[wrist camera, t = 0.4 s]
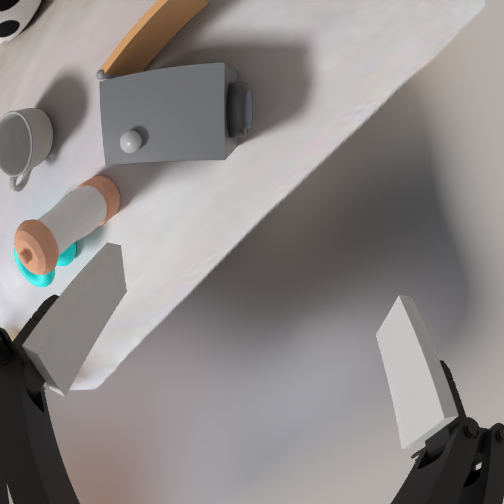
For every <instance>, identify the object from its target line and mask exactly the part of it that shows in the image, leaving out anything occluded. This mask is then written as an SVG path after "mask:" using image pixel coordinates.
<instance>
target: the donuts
mask: <svg viewBox="0 0 504 504" xmlns="http://www.w3.org/2000/svg"><path fill="white" fill-rule="evenodd" d="M75 254H76V243H75V242H74V243H73V244H71V245H70V246H69V247H68V248H67V249H66V250H65V251H64V252H63V253H61V254H60V255H59V257H58V262H57V264H56V265H57V266H66V265H68V264H70V263H71V262H72V261H73V259H74V257H75ZM14 256H15V260H16V263H17V266H18V268H19V270H20V271H21V273H22V274H23V276H24V277H25V278H26V279H27V280H28V281H29V282H30V283H32V284H33V285H35V286H38V287H46V286H48V285H50V284H51V283H52V281H53V279H54V276H55V268H54V270H53V271H51V272H49V273H47V274H45V275H37V274H34V273H32V272H30V271H29V270H28V269H27V268H26V267H25V266H24V265H23V264H22V262H21V261H20V259H19V257H18V255H17V252H16V250H15V248H14Z"/></svg>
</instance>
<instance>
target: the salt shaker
mask: <svg viewBox="0 0 504 504" xmlns="http://www.w3.org/2000/svg"><path fill="white" fill-rule="evenodd" d="M120 200H121V199H120V194H119V191H118V189H117V187H116V185H115V184H114V183H113V181H112V180H110V179H109V178H107V177H105V176H95V177H93V178H91V179H89V180H87V181H86V182H84V183H82V184H81V185H79V186H78V187H77V189H76V190H74V191H73V192H71V193H69V194H68V195H66V196H65V197H64V198H63V199H62V200H61V201H60V202H59V203H58V204H57V205H56V206H55V207H54V208H53V209H52V210H50V211H49V212H47V213H46V214H45V215H43V216H42V217H40V218H39V219H38V220H26V221H24V222H23V223H21V224H20V226H19V227H18V229H17V231H16V234H15V238H14V245H15V250H16V252H17V255H18V257H19V259H20V261H21V262H22V264H23V265H24V266H25V267H26V268H27V269H28V270H29V271H30V272H32V273H34V274H37V275H45V274H47V273H49V272H51V271H53V270H54V268H55V267H56V264H57V262H58V257H59V255H60V254H61V253H63V252H64V251H65V250H66V249H67V248H68V247H69V246H70V245H71V244H73V243H74V242H76V241H77V240H79V239H81V238H83V237H84V236H86V235H88V234H90V233H91V232H92V231H93V230H94V229H95V228H96V227H97V226H101V225H103V224H104V223H106V222H107V221H108V220H109V219H110V218H112V217H113V216H114V215H115V214H116V213H117V212H118V210H119V207H120Z"/></svg>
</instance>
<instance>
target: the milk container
mask: <svg viewBox="0 0 504 504" xmlns="http://www.w3.org/2000/svg"><path fill="white" fill-rule="evenodd" d="M41 2H42V0H0V44H1V43H5V42H8V41H10V40H12V39H13V38H15V37H16V36H17V35H18V34H20V33H21V32H22V31H23V29H24V28H25V27H26V26H27V25H28V23H29V22H30V21H31V20H32V18H33V16H34V15H35V13H36V12H37V10H38V9H39V6H40V4H41Z"/></svg>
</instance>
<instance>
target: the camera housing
mask: <svg viewBox="0 0 504 504" xmlns="http://www.w3.org/2000/svg"><path fill="white" fill-rule="evenodd" d="M100 108H101V123H102V135H103V146H104V155H105V163H106V166H107V165H118V164H130V163H144V162H161V161H188V160H225V159H226V158H227V157H228V156H229V155H230V154H231V153H232V152H233V151H234V150H235V148H236V147H237V146H238V138H246V136H247V132H248V129H251V125H252V92H251V91H248V85H247V82H238V72H237V71H236V70H235V69H233V68H232V67H230V66H229V65H228V64H226V63H225V62H220V63H206V64H194V65H185V66H177V67H169V68H162V69H156V70H150V71H145V72H139V73H134V74H130V75H125V76H121V77H116V78H112V79H108V80H104V81H100Z"/></svg>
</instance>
